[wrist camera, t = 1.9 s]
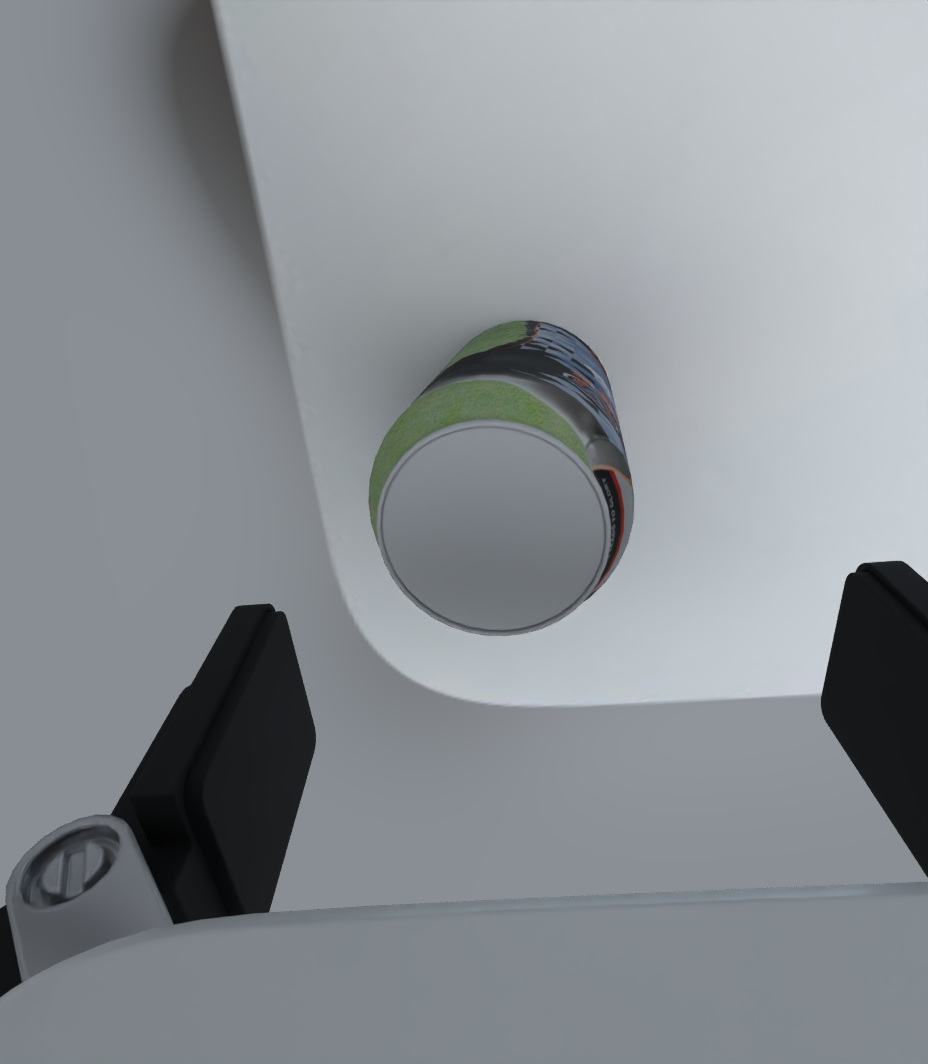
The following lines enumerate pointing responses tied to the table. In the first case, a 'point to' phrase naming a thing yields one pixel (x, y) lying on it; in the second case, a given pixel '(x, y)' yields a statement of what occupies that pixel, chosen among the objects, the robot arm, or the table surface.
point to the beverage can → (505, 484)
